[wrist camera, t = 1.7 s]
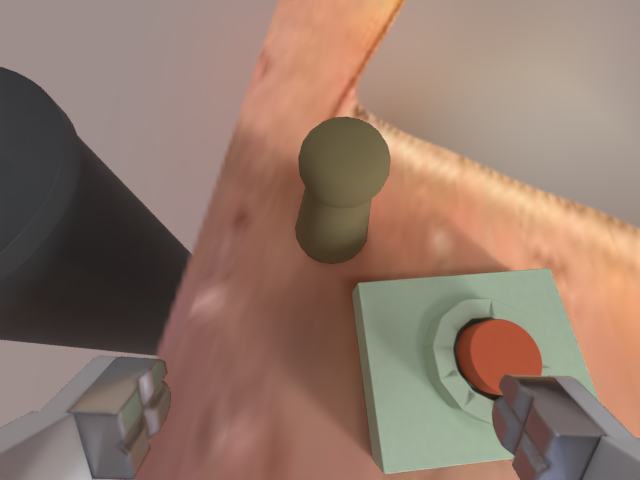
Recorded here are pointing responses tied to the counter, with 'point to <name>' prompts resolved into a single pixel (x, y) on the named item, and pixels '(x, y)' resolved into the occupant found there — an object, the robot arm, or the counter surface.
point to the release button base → (448, 361)
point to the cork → (339, 187)
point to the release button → (496, 353)
